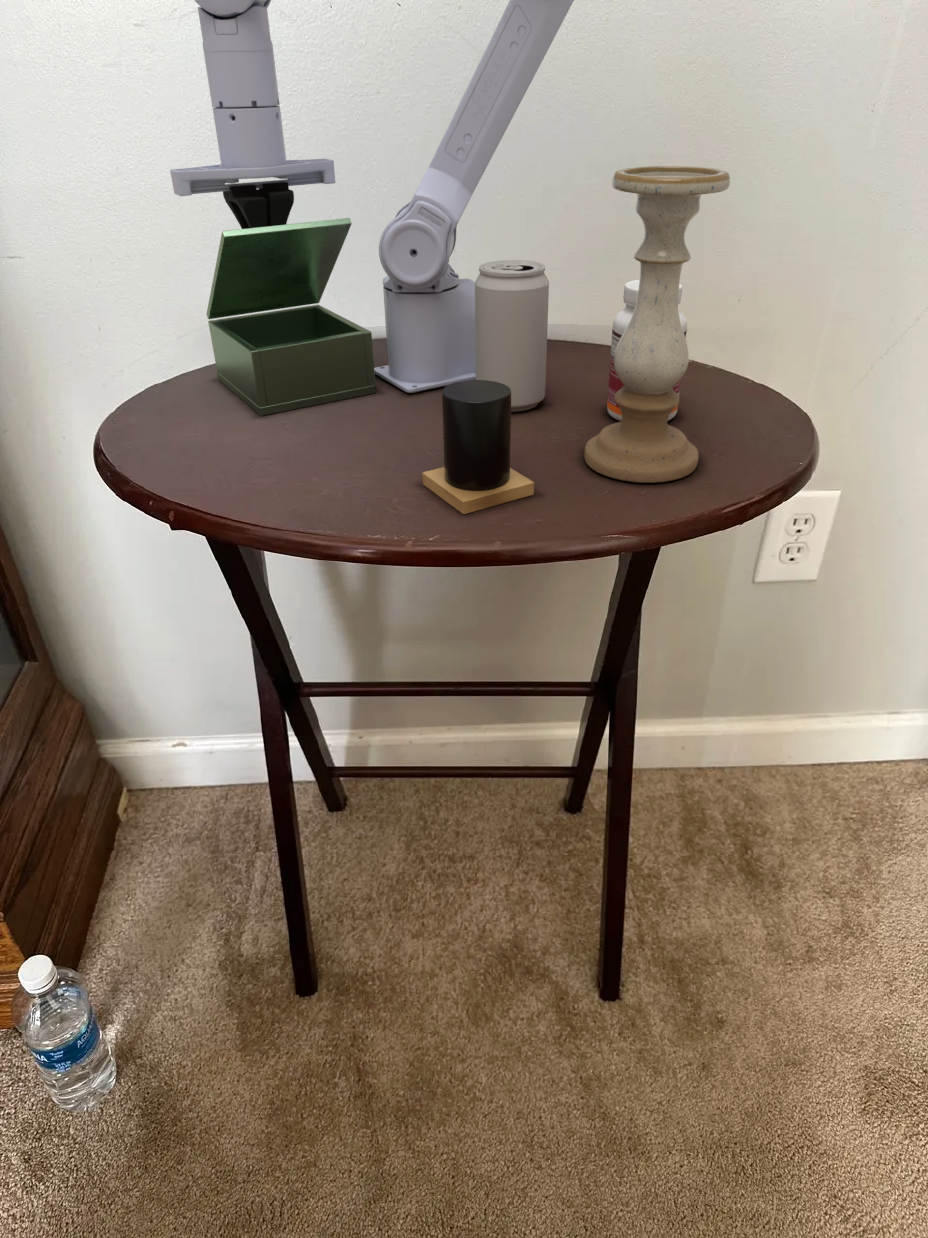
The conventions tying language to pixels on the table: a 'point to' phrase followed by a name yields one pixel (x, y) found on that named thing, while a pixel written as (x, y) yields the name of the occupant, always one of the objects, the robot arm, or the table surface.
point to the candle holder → (654, 331)
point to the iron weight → (476, 434)
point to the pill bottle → (617, 331)
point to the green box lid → (274, 266)
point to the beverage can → (512, 328)
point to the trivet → (477, 499)
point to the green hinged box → (293, 358)
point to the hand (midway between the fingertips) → (269, 273)
